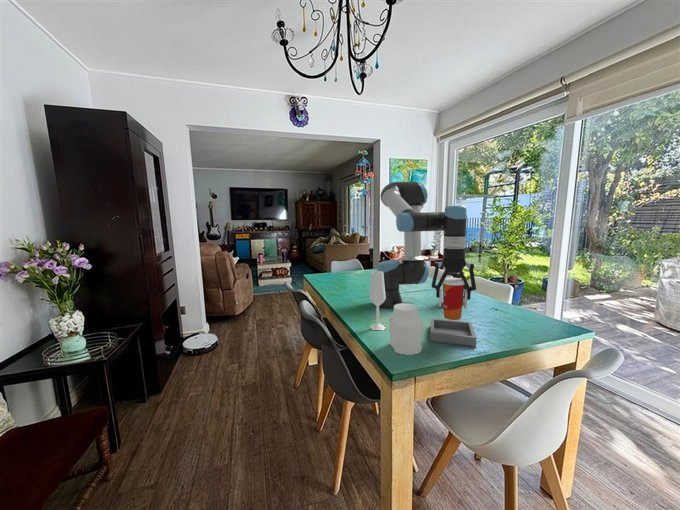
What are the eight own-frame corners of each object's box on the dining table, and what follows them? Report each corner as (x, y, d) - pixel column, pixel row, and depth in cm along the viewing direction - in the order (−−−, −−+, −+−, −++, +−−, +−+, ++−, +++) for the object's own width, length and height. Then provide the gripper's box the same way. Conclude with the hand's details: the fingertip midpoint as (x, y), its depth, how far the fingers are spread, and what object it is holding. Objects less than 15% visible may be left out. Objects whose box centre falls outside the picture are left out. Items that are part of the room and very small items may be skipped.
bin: (430, 341, 102) (430, 332, 102) (430, 326, 116) (431, 318, 116) (476, 347, 97) (476, 337, 96) (470, 330, 111) (471, 322, 111)
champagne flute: (366, 328, 116) (366, 272, 112) (374, 323, 121) (374, 270, 118) (380, 332, 111) (380, 274, 108) (388, 326, 117) (388, 271, 114)
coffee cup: (446, 312, 111) (447, 276, 109) (467, 317, 105) (468, 278, 104) (437, 317, 106) (437, 279, 104) (458, 323, 100) (459, 282, 98)
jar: (425, 354, 93) (425, 311, 91) (397, 356, 92) (398, 313, 90) (411, 339, 104) (412, 301, 102) (387, 341, 103) (387, 302, 101)
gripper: (424, 248, 102) (423, 307, 105) (487, 249, 95) (484, 312, 98) (425, 246, 109) (424, 301, 112) (484, 247, 102) (481, 306, 105)
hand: (452, 306), depth 105 cm, fingers closed on coffee cup, 8 cm apart
